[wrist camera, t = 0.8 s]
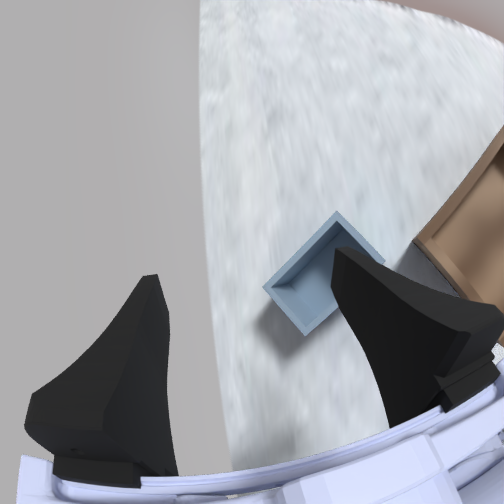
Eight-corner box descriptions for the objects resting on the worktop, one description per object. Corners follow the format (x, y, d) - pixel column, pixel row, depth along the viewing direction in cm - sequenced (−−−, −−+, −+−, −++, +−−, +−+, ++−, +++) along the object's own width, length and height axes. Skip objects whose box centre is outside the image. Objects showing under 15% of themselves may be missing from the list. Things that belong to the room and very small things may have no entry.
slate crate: (384, 261, 24) (385, 260, 19) (319, 323, 26) (305, 336, 21) (344, 220, 25) (336, 210, 21) (283, 282, 27) (262, 286, 23)
